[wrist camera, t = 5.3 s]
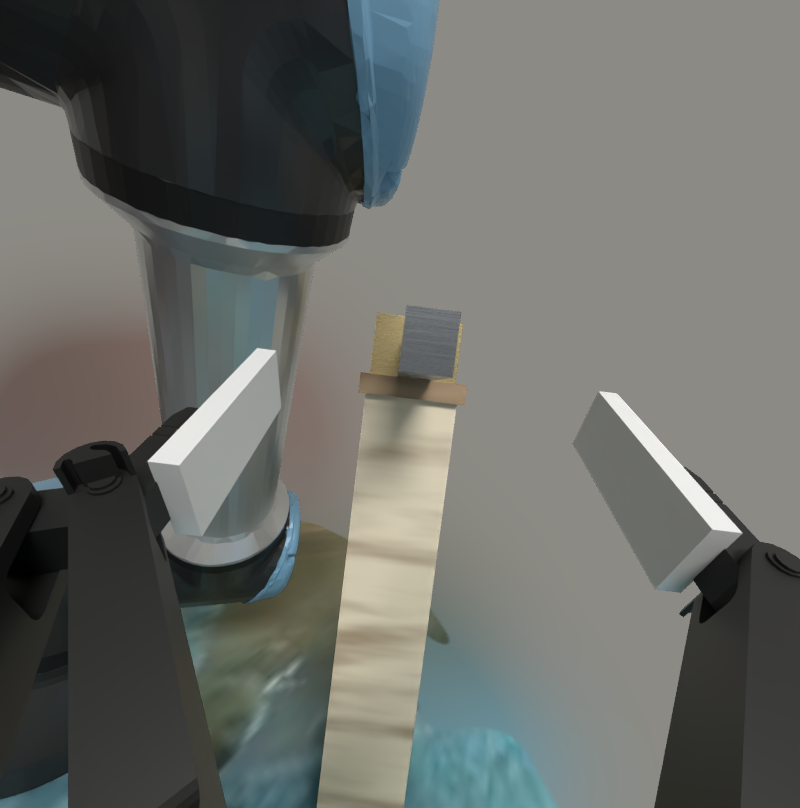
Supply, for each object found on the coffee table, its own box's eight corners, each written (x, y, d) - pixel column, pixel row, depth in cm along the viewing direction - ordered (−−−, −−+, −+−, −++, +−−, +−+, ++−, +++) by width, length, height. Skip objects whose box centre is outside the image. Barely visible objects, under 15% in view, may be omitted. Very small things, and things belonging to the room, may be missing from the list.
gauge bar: (501, 383, 16) (516, 274, 16) (349, 364, 16) (362, 253, 16) (445, 385, 34) (451, 333, 34) (374, 376, 34) (380, 324, 34)
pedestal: (407, 839, 28) (467, 385, 26) (307, 829, 28) (360, 372, 26) (404, 738, 36) (450, 385, 34) (326, 730, 36) (369, 375, 34)
